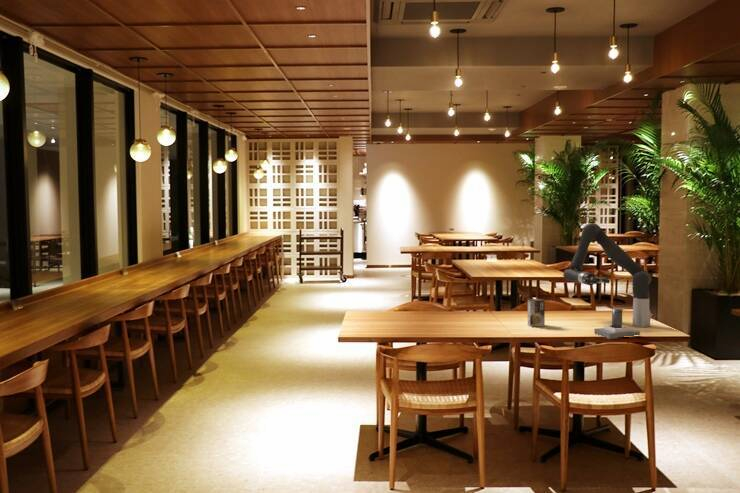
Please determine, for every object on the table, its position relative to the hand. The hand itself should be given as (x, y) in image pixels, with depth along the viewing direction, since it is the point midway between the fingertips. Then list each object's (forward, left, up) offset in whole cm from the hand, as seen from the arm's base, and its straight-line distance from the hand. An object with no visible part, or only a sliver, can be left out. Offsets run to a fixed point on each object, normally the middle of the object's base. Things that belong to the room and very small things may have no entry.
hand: (602, 281), depth 414 cm
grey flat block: (+4, +20, -28) cm, 35 cm away
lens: (+4, +20, -25) cm, 32 cm away
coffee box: (+34, -18, -28) cm, 48 cm away
